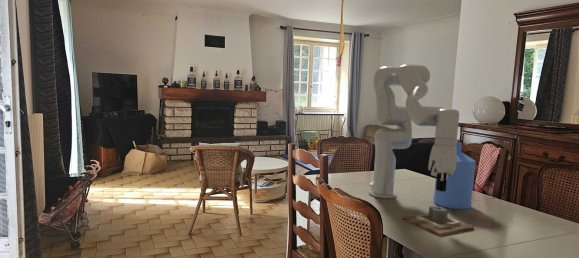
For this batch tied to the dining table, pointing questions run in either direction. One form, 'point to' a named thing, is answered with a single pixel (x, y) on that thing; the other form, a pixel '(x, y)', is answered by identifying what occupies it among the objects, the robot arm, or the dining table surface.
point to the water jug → (458, 184)
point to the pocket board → (438, 229)
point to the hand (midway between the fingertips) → (440, 190)
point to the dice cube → (438, 215)
